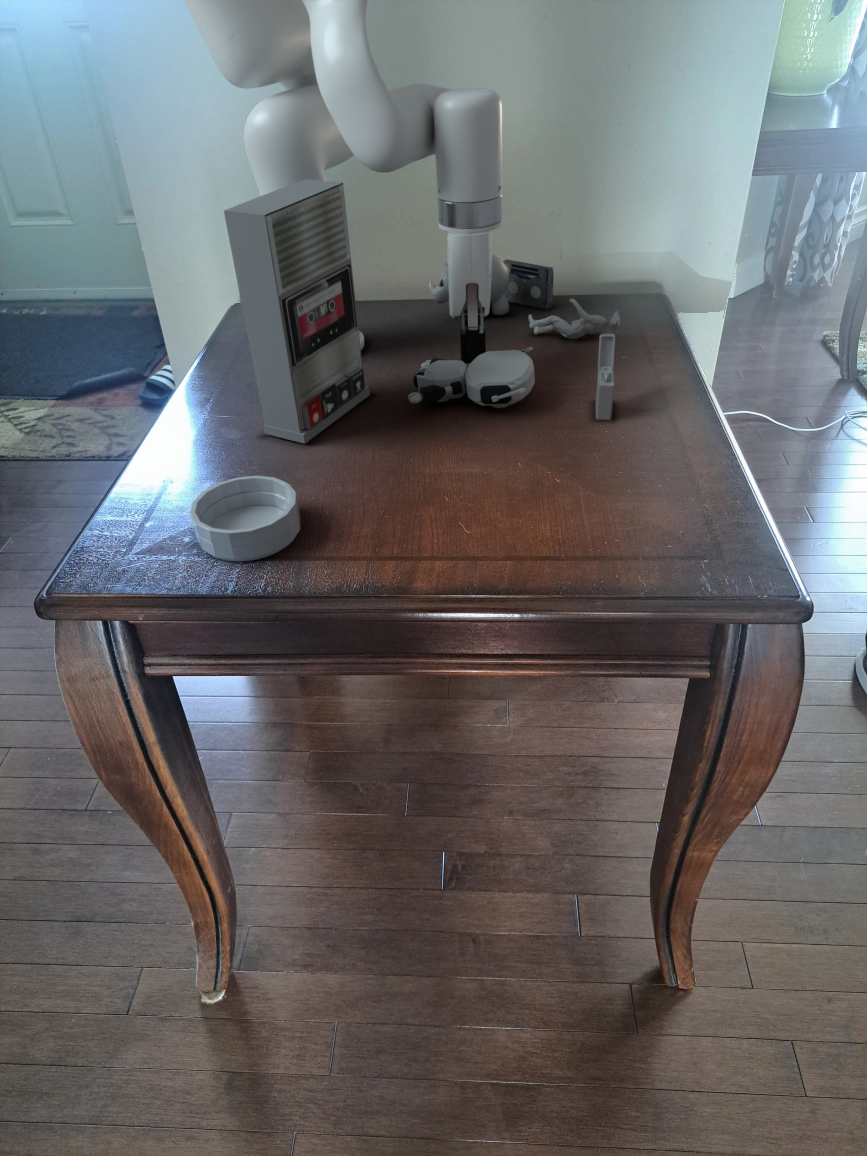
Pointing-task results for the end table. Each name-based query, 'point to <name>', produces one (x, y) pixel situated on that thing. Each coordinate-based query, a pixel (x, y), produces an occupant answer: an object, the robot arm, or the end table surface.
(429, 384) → the robot toy
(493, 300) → the chubby cartoon animal
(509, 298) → the mini dv tape
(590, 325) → the soldier figure
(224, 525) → the grey shallow bowl
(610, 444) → the end table surface
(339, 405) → the cassette tape recorder
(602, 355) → the lighter
